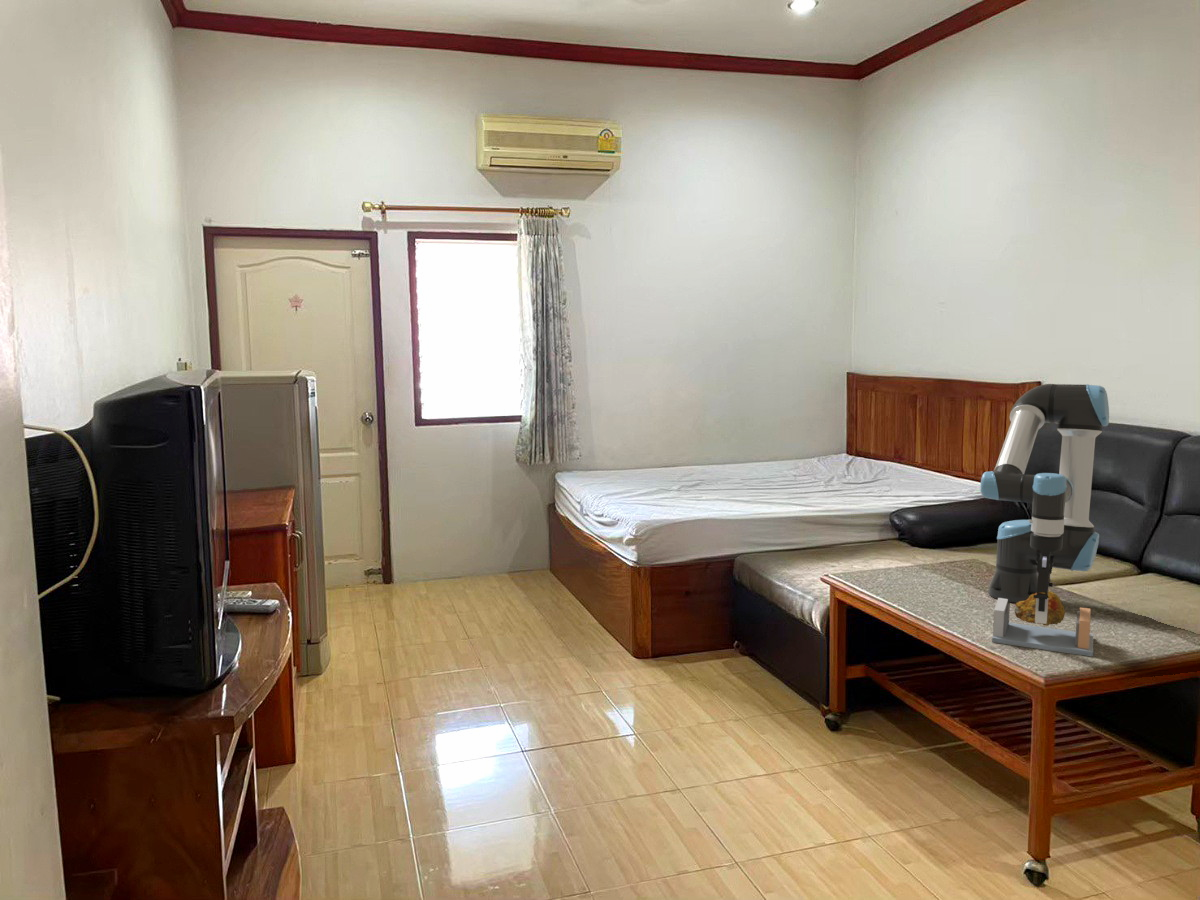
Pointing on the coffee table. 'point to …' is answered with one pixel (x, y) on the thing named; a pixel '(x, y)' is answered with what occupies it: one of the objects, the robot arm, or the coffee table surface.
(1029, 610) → the rock
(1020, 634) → the base
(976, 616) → the coffee table surface
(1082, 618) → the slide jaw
